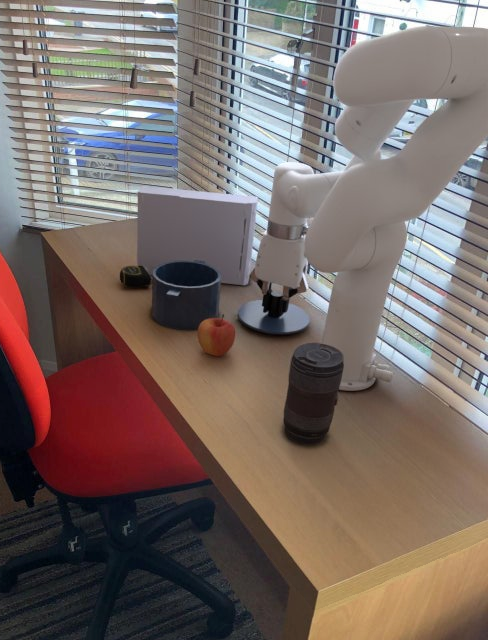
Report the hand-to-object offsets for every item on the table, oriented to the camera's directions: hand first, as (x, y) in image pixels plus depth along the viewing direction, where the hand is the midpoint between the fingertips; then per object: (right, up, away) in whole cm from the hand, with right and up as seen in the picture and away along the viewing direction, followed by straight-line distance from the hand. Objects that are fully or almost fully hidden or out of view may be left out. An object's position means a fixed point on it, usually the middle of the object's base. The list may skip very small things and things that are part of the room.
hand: (274, 311), depth 139 cm
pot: (-19, 0, +2) cm, 19 cm away
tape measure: (-31, +8, +15) cm, 35 cm away
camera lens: (+1, -25, -32) cm, 40 cm away
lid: (0, -1, +1) cm, 1 cm away
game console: (-17, +11, +20) cm, 29 cm away
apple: (-13, -10, -11) cm, 20 cm away
